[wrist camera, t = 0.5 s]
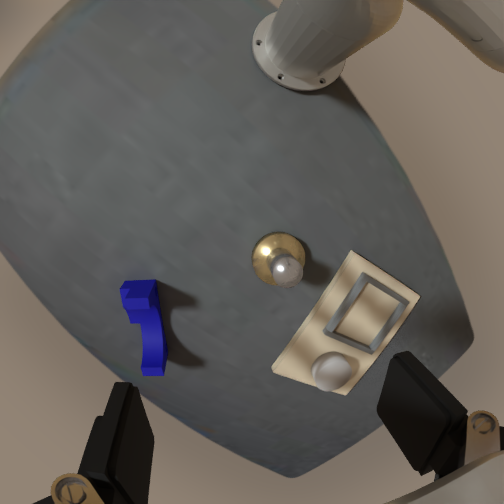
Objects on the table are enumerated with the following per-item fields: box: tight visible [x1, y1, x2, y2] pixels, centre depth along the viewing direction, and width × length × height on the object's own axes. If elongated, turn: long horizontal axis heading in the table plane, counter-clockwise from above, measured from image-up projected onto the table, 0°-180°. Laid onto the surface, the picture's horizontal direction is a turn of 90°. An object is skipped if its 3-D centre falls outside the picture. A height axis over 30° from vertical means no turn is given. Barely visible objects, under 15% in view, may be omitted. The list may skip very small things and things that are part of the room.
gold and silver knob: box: [252, 232, 305, 288], centre depth 38 cm, size 7×7×6 cm
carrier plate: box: [271, 250, 420, 395], centre depth 44 cm, size 22×16×4 cm
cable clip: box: [120, 280, 168, 376], centre depth 39 cm, size 12×4×6 cm, turn 1°
